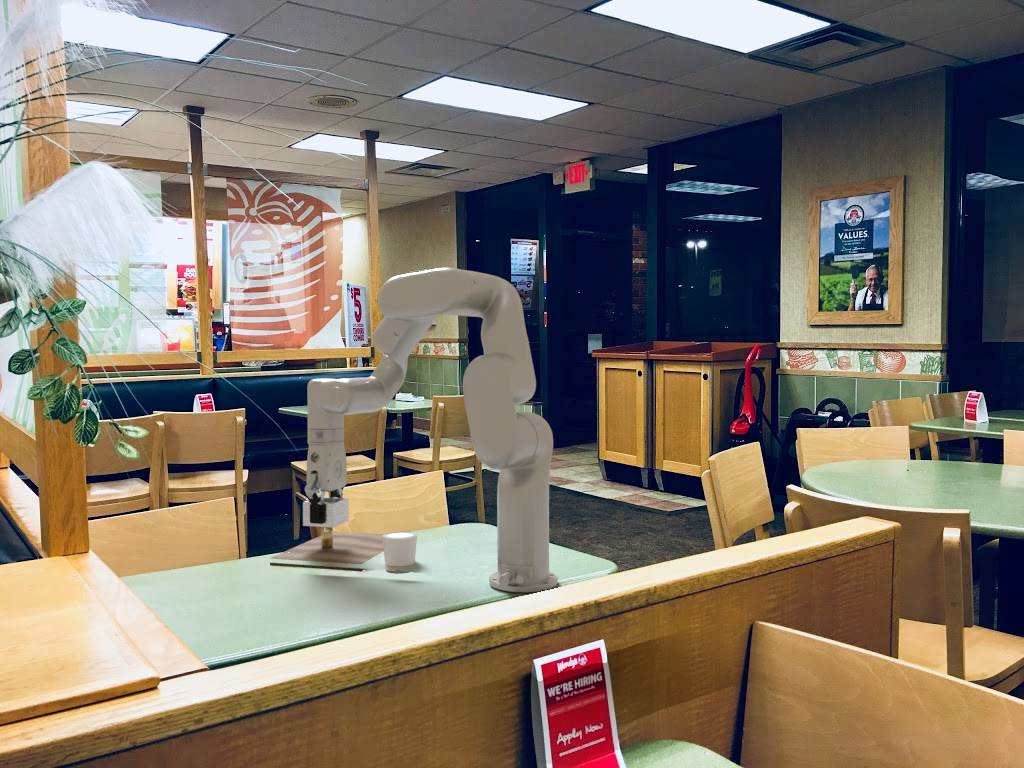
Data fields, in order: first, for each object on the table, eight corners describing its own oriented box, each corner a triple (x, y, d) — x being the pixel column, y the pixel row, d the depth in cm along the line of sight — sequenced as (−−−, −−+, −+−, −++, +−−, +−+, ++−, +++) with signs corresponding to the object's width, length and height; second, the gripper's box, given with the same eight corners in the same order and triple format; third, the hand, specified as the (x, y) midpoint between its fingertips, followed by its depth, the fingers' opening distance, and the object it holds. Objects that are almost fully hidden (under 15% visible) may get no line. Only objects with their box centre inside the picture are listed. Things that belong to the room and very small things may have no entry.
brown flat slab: (360, 571, 155) (360, 563, 155) (269, 565, 160) (269, 558, 160) (410, 542, 180) (410, 535, 180) (330, 537, 185) (330, 531, 185)
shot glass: (421, 565, 159) (420, 531, 159) (413, 574, 152) (413, 538, 152) (387, 565, 160) (387, 530, 160) (378, 574, 153) (378, 538, 153)
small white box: (333, 527, 164) (333, 503, 164) (303, 525, 166) (302, 502, 166) (348, 520, 171) (348, 497, 171) (319, 519, 173) (319, 496, 173)
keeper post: (329, 549, 167) (329, 528, 167) (319, 548, 168) (319, 527, 168) (334, 546, 170) (334, 525, 170) (324, 546, 170) (324, 525, 170)
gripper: (322, 441, 159) (322, 529, 159) (359, 433, 176) (360, 513, 176) (288, 440, 161) (289, 527, 161) (329, 432, 178) (329, 511, 178)
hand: (326, 519), depth 169 cm, fingers closed on small white box, 7 cm apart
